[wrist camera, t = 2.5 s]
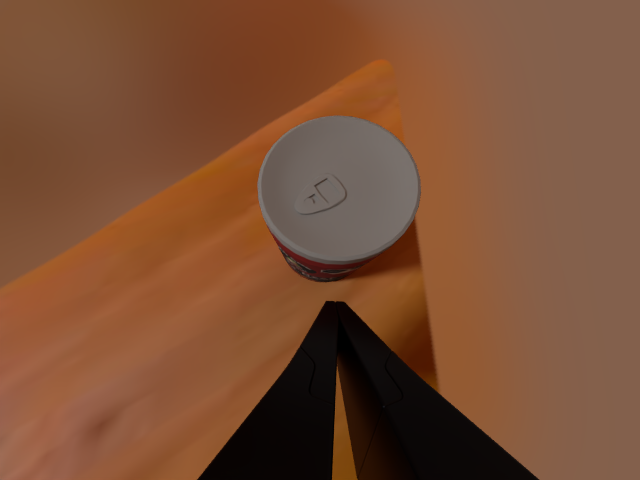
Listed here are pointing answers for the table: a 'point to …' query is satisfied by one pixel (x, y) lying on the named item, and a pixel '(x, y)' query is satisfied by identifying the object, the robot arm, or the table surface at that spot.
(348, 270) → the canned food
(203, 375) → the table surface
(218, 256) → the table surface
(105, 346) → the table surface
